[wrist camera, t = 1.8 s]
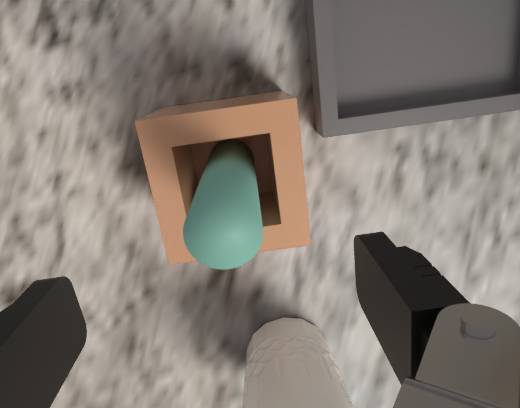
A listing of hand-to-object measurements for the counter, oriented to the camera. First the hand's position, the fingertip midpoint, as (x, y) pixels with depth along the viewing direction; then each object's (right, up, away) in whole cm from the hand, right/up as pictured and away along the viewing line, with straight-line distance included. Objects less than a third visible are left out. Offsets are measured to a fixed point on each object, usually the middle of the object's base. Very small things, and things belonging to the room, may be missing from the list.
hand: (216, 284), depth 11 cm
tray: (+11, +14, +13) cm, 22 cm away
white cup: (+3, -10, +22) cm, 24 cm away
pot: (-1, +5, +16) cm, 17 cm away
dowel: (-1, +5, +15) cm, 16 cm away
